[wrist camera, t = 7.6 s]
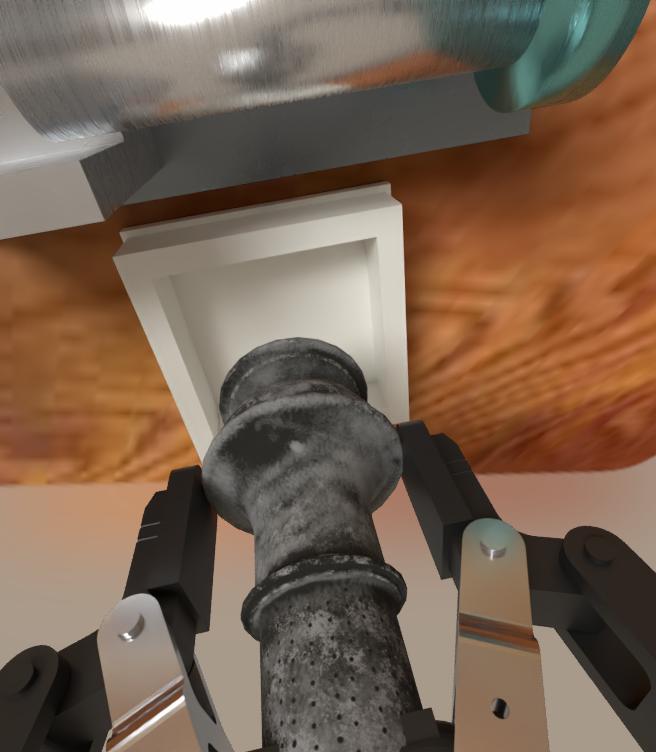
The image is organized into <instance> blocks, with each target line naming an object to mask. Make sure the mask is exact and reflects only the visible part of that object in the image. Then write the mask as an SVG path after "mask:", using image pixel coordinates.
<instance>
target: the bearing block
mask: <svg viewBox="0 0 656 752" xmlns="http://www.w3.org/2000/svg"><path fill="white" fill-rule="evenodd" d="M531 113H532V109H528V110H523V111H517V112H511V113H500V112H496V111H495V110H493V109H491V108H490V107H489V106H488V105H487V104H486V102H485V101H484V99H483V98H482V96H481V94H480V92H479V90H478V87H477V84H476V82H475V78H474V75H473V72H470V73H464V74H458V75H452V76H447V77H441V78H435V79H429V80H423V81H417V82H411V83H405V84H399V85H393V86H387V87H381V88H375V89H370V90H364V91H358V92H352V93H346V94H340V95H334V96H328V97H322V98H316V99H310V100H304V101H298V102H293V103H287V104H281V105H275V106H269V107H263V108H257V109H251V110H245V111H239V112H233V113H227V114H222V115H216V116H210V117H204V118H198V119H192V120H186V121H180V122H174V123H168V124H162V125H156V126H150V127H145V128H139V129H133V130H127V131H121V132H115V133H109V134H103V135H97V136H91V137H85V138H79V139H73V140H68V141H62V142H52V141H49V140H47V139H46V138H44V137H43V136H41V135H40V134H39V133H38V132H37V131H36V130H35V129H34V128H33V127H32V126H31V125H30V124H29V123H28V122H27V121H26V119H25V118H24V117H23V116H22V114H21V113H20V112H19V110H18V109H17V108H16V106H15V105H14V103H13V102H12V100H11V99H10V97H9V96H8V94H7V92H6V91H5V89H4V88H3V86H2V84H1V82H0V240H1V239H6V238H12V237H17V236H23V235H29V234H34V233H40V232H46V231H51V230H57V229H62V228H68V227H74V226H79V225H85V224H90V223H96V222H102V221H105V220H106V219H107V218H109V217H110V216H111V215H112V214H113V213H114V212H115V211H116V210H117V209H118V208H119V207H120V206H123V205H128V204H134V203H140V202H145V201H151V200H157V199H162V198H168V197H174V196H179V195H185V194H191V193H196V192H202V191H207V190H213V189H219V188H224V187H230V186H236V185H241V184H247V183H253V182H258V181H264V180H270V179H275V178H281V177H287V176H292V175H298V174H304V173H309V172H315V171H321V170H326V169H332V168H338V167H343V166H349V165H355V164H360V163H366V162H371V161H377V160H383V159H388V158H394V157H400V156H405V155H411V154H417V153H422V152H428V151H434V150H439V149H445V148H451V147H456V146H462V145H468V144H473V143H479V142H485V141H490V140H496V139H502V138H507V137H513V136H519V135H524V134H529V130H530V121H531Z"/></svg>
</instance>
